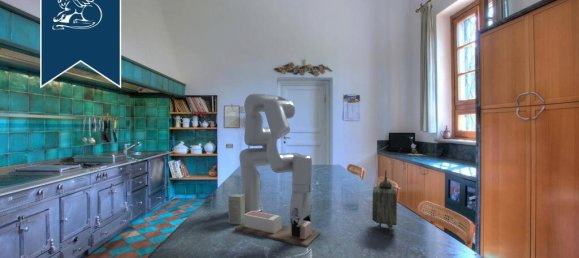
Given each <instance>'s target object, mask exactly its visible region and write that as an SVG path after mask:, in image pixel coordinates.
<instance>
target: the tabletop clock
mask: <svg viewBox="0 0 579 258" xmlns="http://www.w3.org/2000/svg"><path fill="white" fill-rule="evenodd" d="M387 174H388V173H387V169H384V180H382V181H380V183H379V184H378V185H376V186H373V189H372V207H371V208H372V211H371V212H372V219H371V220H372V221H373V222H375V223H377V224H378V225H377V229H379V230H380V229H382V224H383V225H386V226H387V227H388V229H389V232H388V233H389V235H390V236H393V235H394V234H395V233H394V231H393V230H392V228H391V227H392V226H397V224H398V223H397V220H398V218H397V216H398V215H397V214H398V213H397V212H398V211H397V209H398V204H397V203H398V193H397V192H398V191H397V186H393V184H392V182H391V181H389V180H388V177H387Z"/></svg>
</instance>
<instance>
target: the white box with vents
mask: <svg viewBox="0 0 579 258" xmlns="http://www.w3.org/2000/svg"><path fill="white" fill-rule="evenodd" d="M243 224H244V227H248V228H253V229H257V230H262V231H266V232H270V233H276V232H277V231H279V230H280V229H282V225H283V216H281V215H278V214H273V213H271V214H270V213H265V212H262V211H261V212H257V211H250V212H248V213H246V214H244V223H243Z"/></svg>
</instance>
